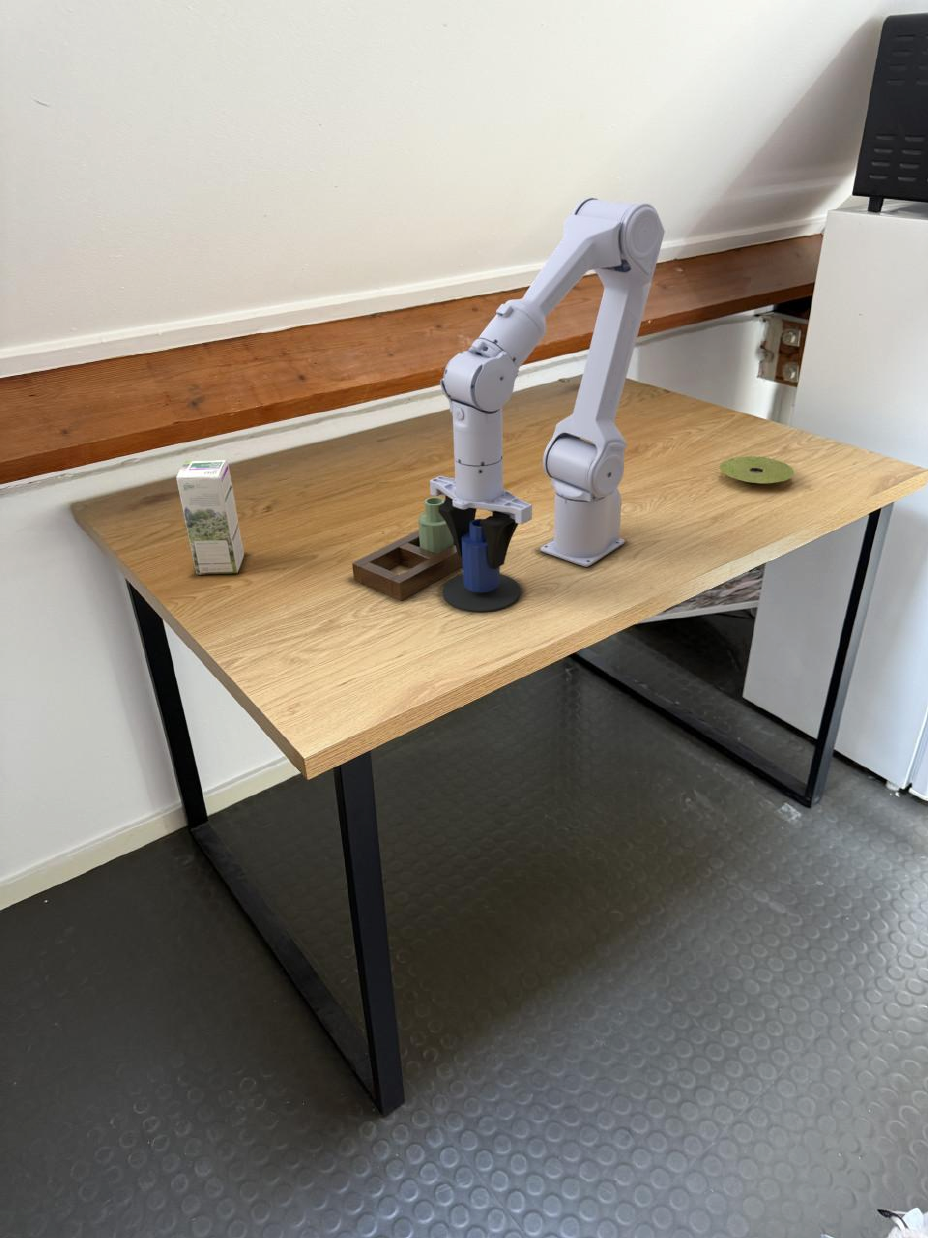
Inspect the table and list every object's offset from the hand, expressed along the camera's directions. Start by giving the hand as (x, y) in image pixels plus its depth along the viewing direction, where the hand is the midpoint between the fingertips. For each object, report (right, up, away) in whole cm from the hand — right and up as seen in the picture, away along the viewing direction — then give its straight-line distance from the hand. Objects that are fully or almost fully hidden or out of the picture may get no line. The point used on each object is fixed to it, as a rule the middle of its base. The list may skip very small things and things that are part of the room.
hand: (480, 559), depth 114 cm
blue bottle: (0, -3, +2) cm, 3 cm away
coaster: (0, -4, +2) cm, 5 cm away
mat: (+44, +15, +31) cm, 56 cm away
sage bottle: (-6, +1, +11) cm, 12 cm away
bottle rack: (-8, 0, +9) cm, 12 cm away
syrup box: (-36, 0, +11) cm, 37 cm away
